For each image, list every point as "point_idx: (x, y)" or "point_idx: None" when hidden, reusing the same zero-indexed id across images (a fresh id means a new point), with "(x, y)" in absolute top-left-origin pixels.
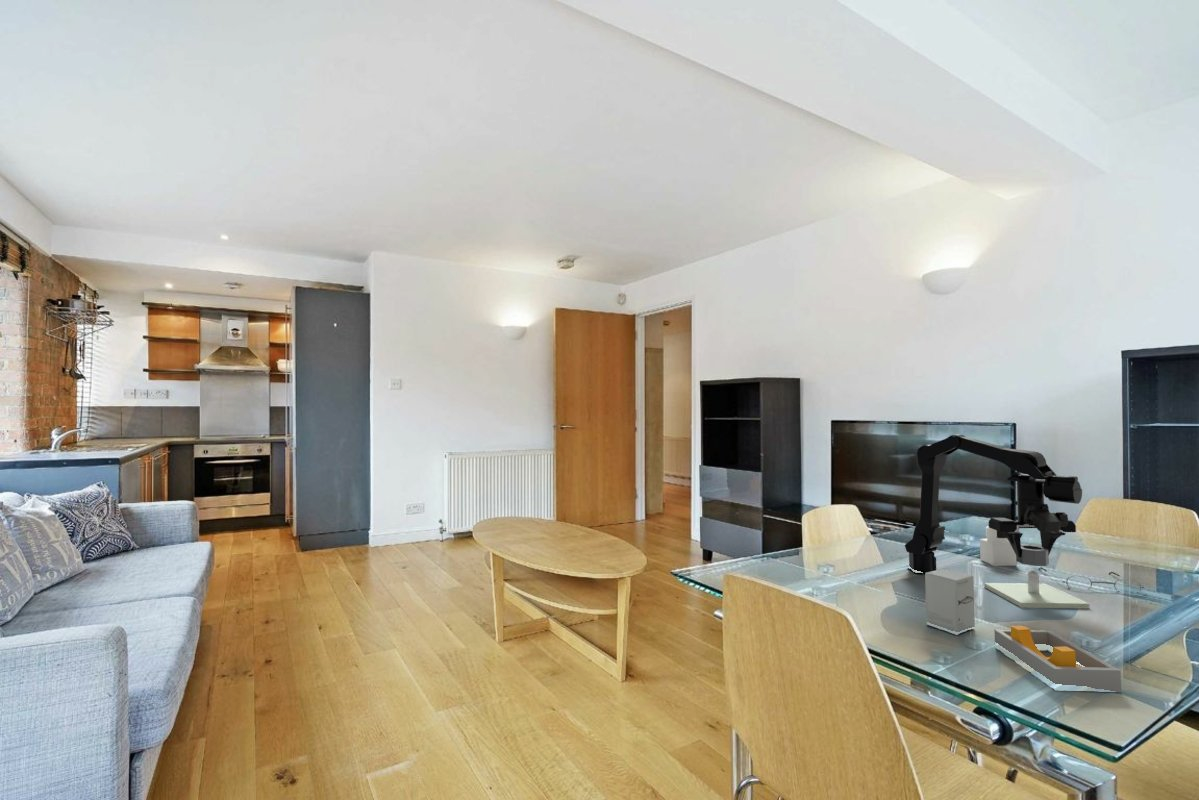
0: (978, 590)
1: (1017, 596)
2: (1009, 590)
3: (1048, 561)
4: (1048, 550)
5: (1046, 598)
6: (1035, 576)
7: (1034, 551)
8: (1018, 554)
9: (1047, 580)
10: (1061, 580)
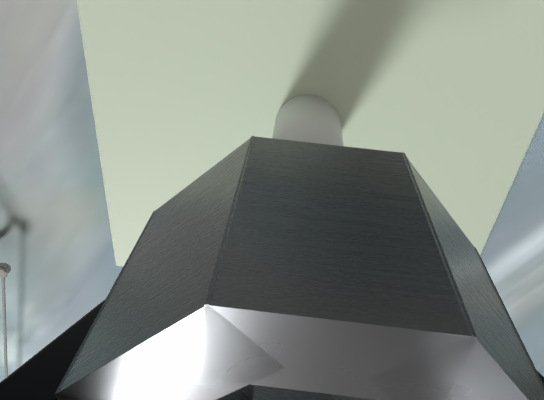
0: (537, 249)
1: (504, 53)
2: (435, 178)
3: (149, 227)
4: (56, 376)
5: None
6: None
7: (473, 321)
8: (540, 377)
9: (50, 330)
10: (4, 288)
